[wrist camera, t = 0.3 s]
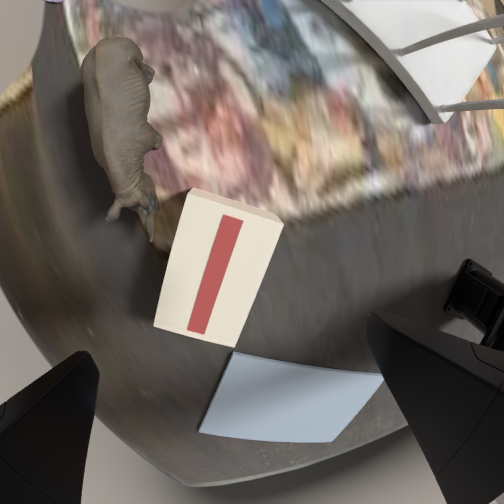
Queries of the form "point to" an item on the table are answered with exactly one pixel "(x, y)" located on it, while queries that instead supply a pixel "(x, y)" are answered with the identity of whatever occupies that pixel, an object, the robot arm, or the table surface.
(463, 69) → the file sorter
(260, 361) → the mat
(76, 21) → the table surface
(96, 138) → the rhino figurine
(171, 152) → the table surface
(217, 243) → the card box
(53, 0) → the mobile phone
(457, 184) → the table surface
